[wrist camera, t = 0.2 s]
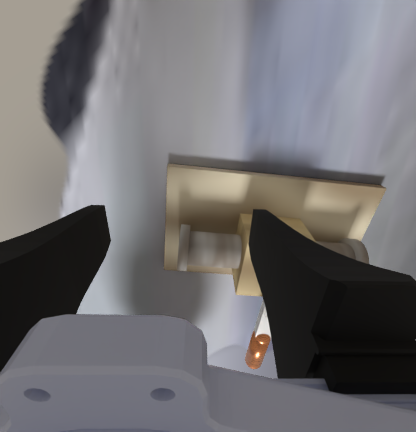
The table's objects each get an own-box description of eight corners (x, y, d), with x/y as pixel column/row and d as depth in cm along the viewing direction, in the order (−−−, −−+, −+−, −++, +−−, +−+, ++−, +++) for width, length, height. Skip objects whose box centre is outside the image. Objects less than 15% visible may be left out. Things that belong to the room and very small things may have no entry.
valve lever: (267, 264, 19) (272, 279, 18) (292, 266, 19) (299, 281, 18) (240, 355, 25) (243, 372, 24) (260, 356, 25) (263, 373, 24)
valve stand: (336, 277, 28) (368, 323, 22) (164, 264, 26) (155, 311, 21) (380, 185, 22) (435, 218, 17) (168, 163, 21) (157, 191, 16)
